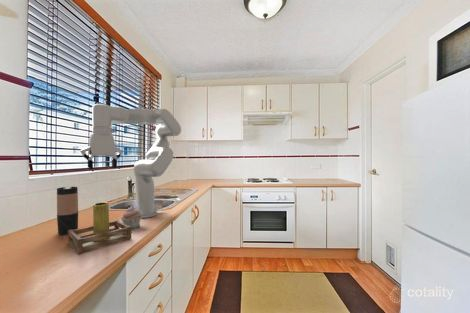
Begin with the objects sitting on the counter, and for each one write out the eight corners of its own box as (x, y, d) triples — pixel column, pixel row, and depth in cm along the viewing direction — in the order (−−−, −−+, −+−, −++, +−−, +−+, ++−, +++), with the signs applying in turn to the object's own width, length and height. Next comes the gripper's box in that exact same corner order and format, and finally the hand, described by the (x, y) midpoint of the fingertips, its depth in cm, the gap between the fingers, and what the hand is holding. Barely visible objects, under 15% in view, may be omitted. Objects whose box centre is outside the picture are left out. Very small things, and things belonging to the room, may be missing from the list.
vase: (91, 243, 86) (90, 206, 86) (94, 237, 92) (93, 202, 91) (109, 240, 88) (108, 204, 88) (111, 235, 94) (110, 201, 94)
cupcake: (144, 228, 105) (143, 207, 105) (121, 231, 101) (121, 209, 100) (141, 223, 113) (140, 203, 113) (120, 226, 109) (120, 205, 108)
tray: (117, 231, 101) (117, 219, 101) (131, 239, 92) (131, 226, 92) (68, 243, 88) (67, 230, 88) (78, 254, 78) (77, 239, 78)
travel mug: (67, 235, 96) (66, 189, 96) (52, 234, 98) (51, 188, 97) (82, 229, 104) (82, 186, 103) (69, 228, 105) (68, 186, 105)
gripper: (118, 133, 113) (119, 167, 113) (77, 130, 100) (78, 169, 100) (125, 132, 108) (125, 167, 108) (82, 129, 95) (83, 170, 95)
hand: (102, 168), depth 104 cm, fingers open, 9 cm apart
